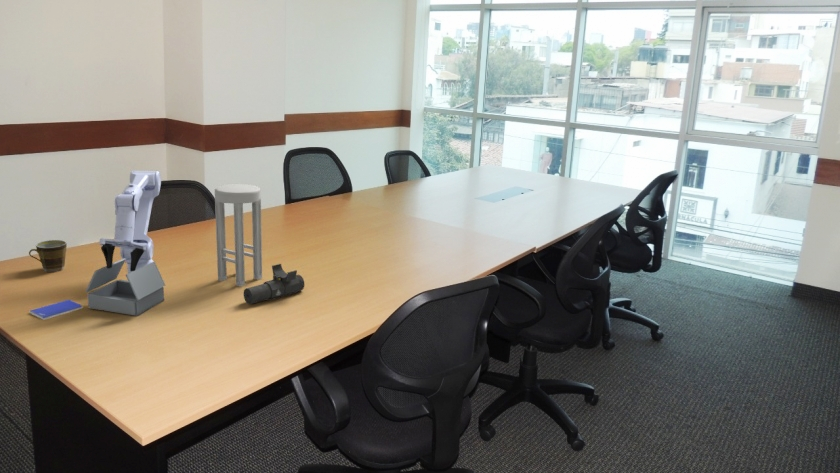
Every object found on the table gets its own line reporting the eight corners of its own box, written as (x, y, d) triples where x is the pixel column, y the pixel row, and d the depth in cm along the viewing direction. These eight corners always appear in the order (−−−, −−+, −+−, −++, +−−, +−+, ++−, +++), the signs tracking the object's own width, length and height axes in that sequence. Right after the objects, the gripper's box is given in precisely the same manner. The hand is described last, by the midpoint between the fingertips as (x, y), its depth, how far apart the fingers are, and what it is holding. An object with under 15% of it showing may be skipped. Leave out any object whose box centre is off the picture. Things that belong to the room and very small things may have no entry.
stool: (240, 289, 232) (237, 194, 223) (209, 280, 240) (205, 188, 230) (270, 278, 245) (268, 187, 236) (240, 269, 253) (237, 181, 243)
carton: (119, 292, 224) (118, 279, 222) (165, 299, 220) (164, 286, 218) (87, 308, 209) (86, 294, 208) (136, 316, 205) (135, 302, 204)
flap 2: (153, 261, 216) (154, 261, 216) (164, 285, 218) (165, 285, 217) (125, 274, 203) (126, 274, 203) (137, 300, 205) (138, 299, 204)
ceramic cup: (61, 263, 249) (58, 238, 247) (74, 269, 244) (71, 243, 241) (25, 271, 239) (22, 245, 237) (38, 277, 234) (35, 251, 231)
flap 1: (116, 278, 222) (114, 277, 222) (125, 259, 219) (124, 258, 219) (86, 292, 209) (85, 291, 209) (96, 271, 205) (95, 270, 206)
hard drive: (42, 316, 200) (82, 305, 210) (29, 310, 204) (68, 299, 214) (43, 321, 200) (82, 309, 210) (29, 314, 204) (68, 303, 214)
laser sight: (240, 300, 223) (239, 273, 220) (293, 286, 239) (293, 260, 236) (256, 309, 217) (255, 281, 214) (310, 293, 233) (310, 267, 230)
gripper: (107, 222, 206) (103, 264, 203) (151, 230, 217) (148, 270, 213) (98, 227, 211) (94, 268, 207) (141, 234, 221) (138, 273, 218)
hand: (121, 269), depth 211 cm, fingers open, 7 cm apart
